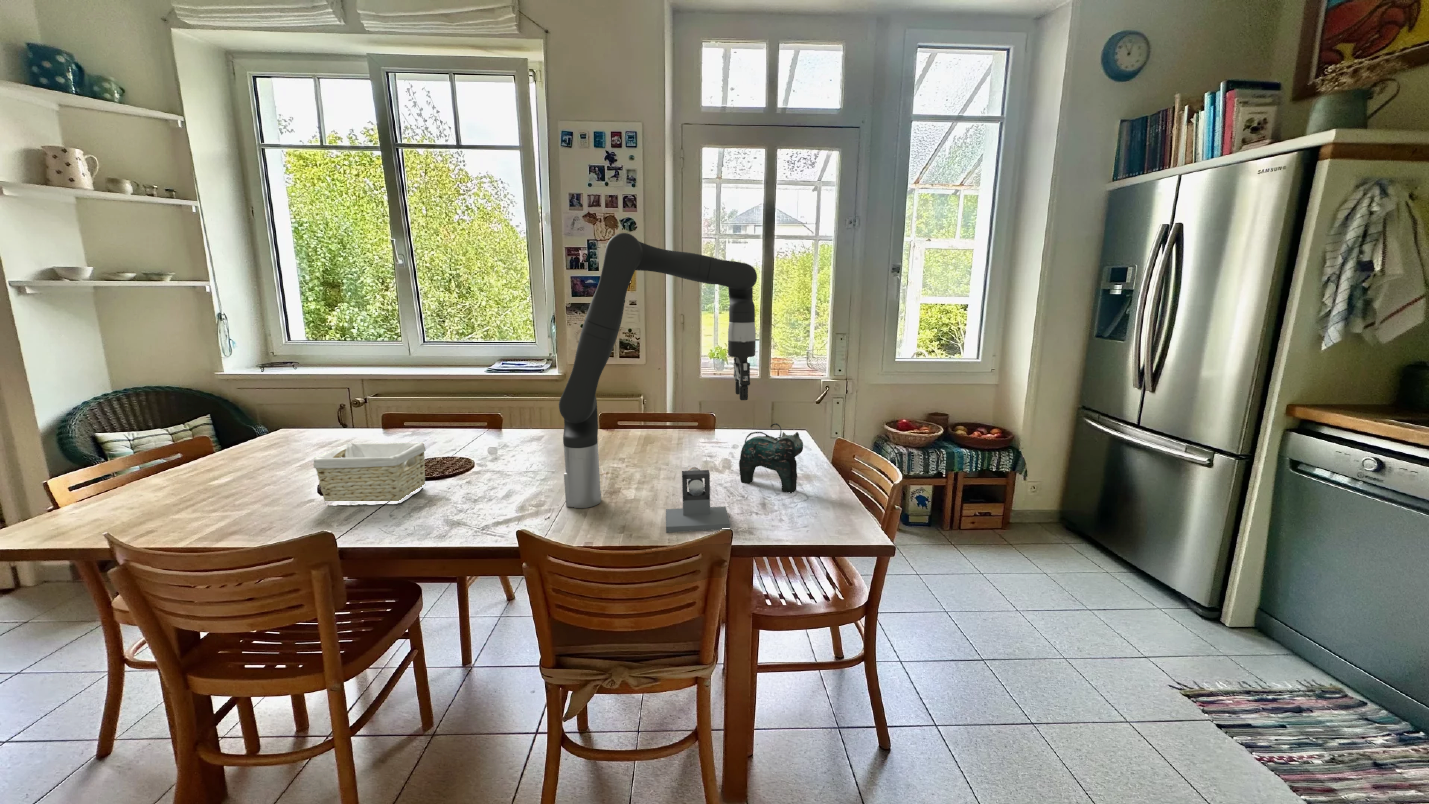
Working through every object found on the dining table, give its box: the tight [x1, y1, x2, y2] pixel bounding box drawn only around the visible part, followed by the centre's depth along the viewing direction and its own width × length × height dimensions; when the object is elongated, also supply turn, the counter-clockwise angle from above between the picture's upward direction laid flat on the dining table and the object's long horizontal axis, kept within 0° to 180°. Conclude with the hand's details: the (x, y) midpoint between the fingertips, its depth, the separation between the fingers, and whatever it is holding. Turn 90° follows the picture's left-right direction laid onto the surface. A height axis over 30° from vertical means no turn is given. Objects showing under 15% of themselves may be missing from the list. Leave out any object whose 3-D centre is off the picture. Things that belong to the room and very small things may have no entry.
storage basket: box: [312, 441, 426, 502], centre depth 157 cm, size 24×16×15 cm
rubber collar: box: [681, 469, 711, 502], centre depth 140 cm, size 7×3×7 cm, turn 95°
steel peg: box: [687, 466, 705, 496], centre depth 143 cm, size 4×11×4 cm, turn 5°
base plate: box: [665, 499, 731, 533], centre depth 139 cm, size 16×11×6 cm
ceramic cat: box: [738, 422, 804, 494], centre depth 161 cm, size 20×6×20 cm, turn 56°
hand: (741, 397), depth 151 cm, fingers open, 8 cm apart
